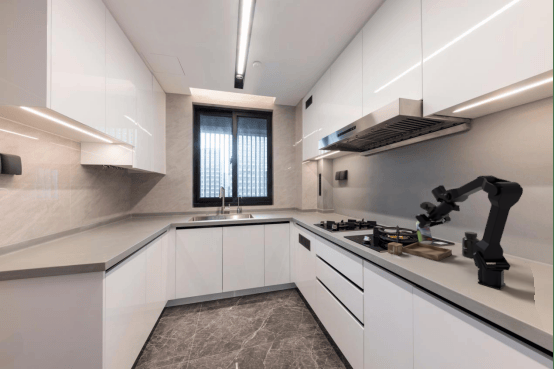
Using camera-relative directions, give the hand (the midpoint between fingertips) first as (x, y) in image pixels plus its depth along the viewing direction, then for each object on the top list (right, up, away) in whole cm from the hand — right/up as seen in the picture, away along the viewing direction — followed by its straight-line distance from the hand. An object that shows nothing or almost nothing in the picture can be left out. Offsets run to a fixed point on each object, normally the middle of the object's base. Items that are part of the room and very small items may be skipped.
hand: (422, 227), depth 125 cm
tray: (+2, -13, 0) cm, 14 cm away
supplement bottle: (+20, -13, -7) cm, 25 cm away
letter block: (-14, -14, +2) cm, 20 cm away
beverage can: (-1, -8, -4) cm, 9 cm away
